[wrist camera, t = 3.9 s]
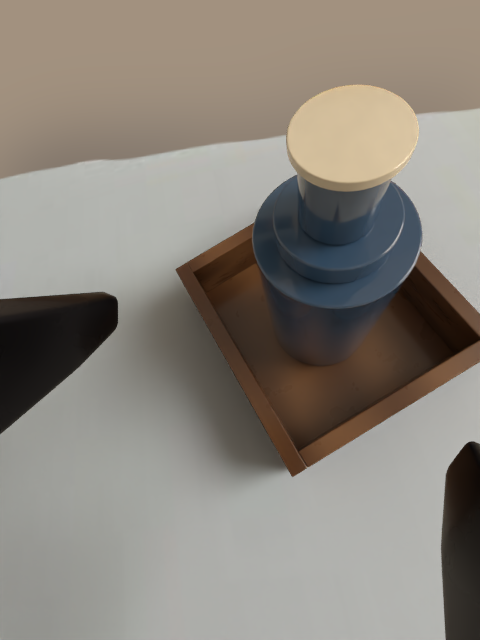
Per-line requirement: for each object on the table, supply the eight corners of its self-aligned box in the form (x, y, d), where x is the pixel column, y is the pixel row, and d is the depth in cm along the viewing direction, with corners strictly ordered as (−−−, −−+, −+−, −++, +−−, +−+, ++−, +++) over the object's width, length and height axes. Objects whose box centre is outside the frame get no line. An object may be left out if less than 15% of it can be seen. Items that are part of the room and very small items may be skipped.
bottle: (304, 384, 19) (315, 286, 7) (255, 307, 21) (191, 121, 9) (387, 334, 19) (554, 143, 7) (330, 262, 21) (376, 13, 9)
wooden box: (293, 469, 18) (292, 477, 15) (193, 293, 23) (175, 269, 20) (471, 360, 19) (509, 344, 15) (337, 207, 23) (343, 169, 20)
